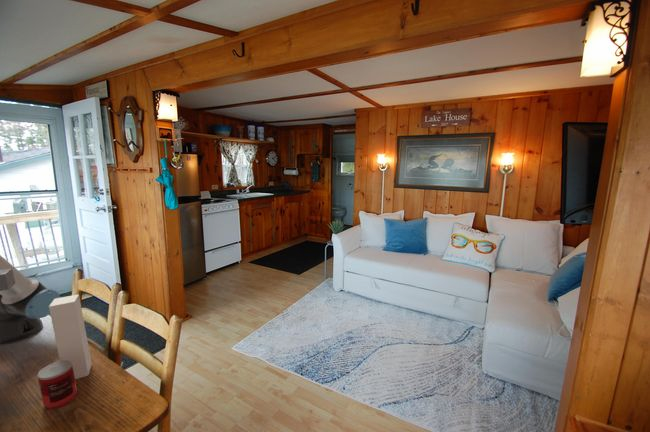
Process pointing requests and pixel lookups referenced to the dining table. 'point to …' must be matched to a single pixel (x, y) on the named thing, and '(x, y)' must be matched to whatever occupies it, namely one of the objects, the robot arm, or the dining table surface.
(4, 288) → the steel bar
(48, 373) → the canned food
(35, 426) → the dining table surface
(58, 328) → the stand
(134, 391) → the dining table surface
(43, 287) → the robot arm
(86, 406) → the dining table surface
